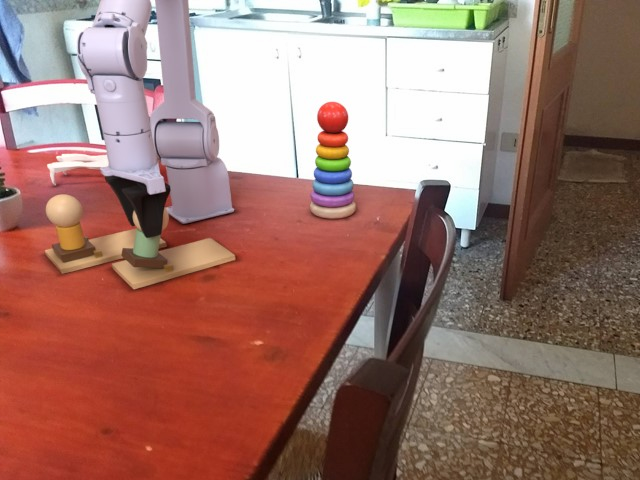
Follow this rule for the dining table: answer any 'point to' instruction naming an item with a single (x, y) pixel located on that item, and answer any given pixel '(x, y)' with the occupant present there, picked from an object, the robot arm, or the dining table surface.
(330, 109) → the stacking toy
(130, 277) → the thin cream rectangular board
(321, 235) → the dining table surface
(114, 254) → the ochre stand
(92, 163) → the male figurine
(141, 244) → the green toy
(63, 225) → the ochre toy
